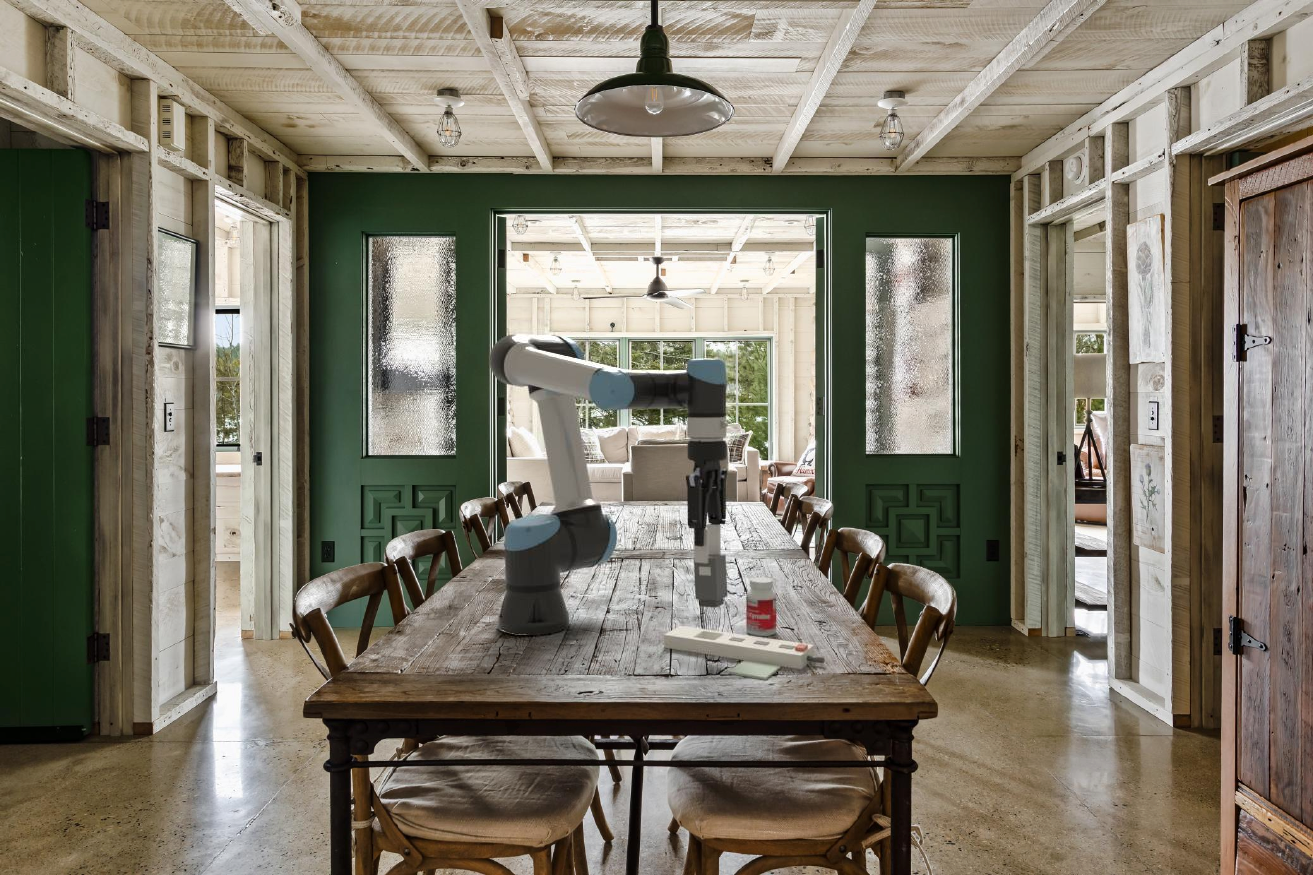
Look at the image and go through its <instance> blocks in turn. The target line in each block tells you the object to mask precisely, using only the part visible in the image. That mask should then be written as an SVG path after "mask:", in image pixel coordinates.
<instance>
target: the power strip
mask: <svg viewBox="0 0 1313 875" xmlns="http://www.w3.org/2000/svg"><path fill="white" fill-rule="evenodd" d="M663 648H667V649H673V650H679V651H683V652H684V651H685V652H693V653H698V654H704V655H709V656H716V657H720V658H721V657H722V658H727V659H728V658H729V659H735V660H741V661H744V660H748V661H754V662H760V663H766V664H773V665H779V666H781V667H783V668H784V667H785V668H791V669H795V670H796V669H797V670H802V669H803V668H804V667H806V666H807V665H809V663H810V662H812V663H818V664H825V658H824V657H819V656H815V644H809V643H803V642H796V641H788V640H781V639H776V638H774V639H773V638H769V637H763V636H755V635H749V634H747V635H746V634H740V633H733V632H726V631H719V630H713V629H707V628H699V627H698V628H697V627H693V626H684V625H679V626H677V627H676V628H674V629H672V630H670V631H668V632H666V633H665V634H663Z"/></svg>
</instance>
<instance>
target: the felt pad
mask: <svg viewBox="0 0 1313 875" xmlns="http://www.w3.org/2000/svg"><path fill="white" fill-rule="evenodd" d="M781 668H782V666H779V665H773V664H766V663H760V662H754V661H748V660H742V661H741V662H740V663H738V664H737V665H736V666H734V667H732V668H731V669H730V670H729V671H728V674H730V675H736V676H742V677H745V678H746V677H747V678H753V679H759V680H764V681H765V680H767V679H769V678H770V677H771V676H772V675H775V673H777V672H778V671H779V670H780V669H781Z"/></svg>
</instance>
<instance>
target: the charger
mask: <svg viewBox="0 0 1313 875" xmlns="http://www.w3.org/2000/svg"><path fill="white" fill-rule="evenodd" d="M726 556H727V555H726V554H721V555H718V554H709V563H707V564H706V563H697V562H694V561H693V571H694V572H693V573H694V587H695V588H694V593H695V596H694V597H695V600H699V607H701V608H702V607H703V608H714V609H715V608H718V607H721V606H722V605H724V601H725V600H724V598H727V597H728V583H727V582H728V580H727V579H728V578H727V577H728V576H727V558H726Z"/></svg>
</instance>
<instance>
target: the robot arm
mask: <svg viewBox="0 0 1313 875" xmlns="http://www.w3.org/2000/svg"><path fill="white" fill-rule="evenodd" d="M488 359H489V360H488V361H489V367H490V369H491V372H492V374H493V376H494V377H495V378H496V379H497V380H498V381H500V382H501V383H503V384H506V385H509V386H515V387H520V388H523V387H527V390H528V396H529V398H530V399H531V400H533V401H534V402H536V404H537V407H538V408H537V409H538V414H539V419H540V420H539V421H540V425H541V430H542V436H543V441H544V448H545V452H546V453H545V454H546V460H547V463H548V469H549V476H550V480H551V481H550V482H551V487H552V491H553V492H552V493H553V497H554V502H555V503H554V504H555V505H554V507H553V509H552V510H551V512H550V514H549V513H548V514H547V513H545V514H544V513H543V514H541V513H540V514H535V515H526V516H522V517H520V518H516V519H514V520H512V521H510V522H509V523H508V524H507V526H506V527H505V530H504V542H503V548H504V572H505V594H504V597H503V601H502V604H501V607H500V612H499V614H498V617H497V627H499V628H500V629H501V630H504V631H506V632H510V633H514V634H527V635H528V634H530V635H536V636H539V635H538V634H545V635H550V634H549V633H551V634H554V633H553V632H555V633H557V632H558V631H559V632H561V631H560V630H562V631H564V630H566V629H567V628H569V627H570V612H569V611H568V609H567V605H566V602H565V599H564V595H563V594H562V588H561V573H566V572H571V571H572V572H573V571H577V570H581V569H588V568H589V569H590V568H593V567H596V566H599V565H602V564H603V563H606V562H607V561H609V559H611V557H612V556H613V553H614V552H615V550H616V547H617V542H618V532H617V531H618V530H617V527H616V524H615V522H614V520H613V519H611V518H612V517H611V516H610V515H608V514H606V513H604V512H603V509H602V505H601V503H600V502H598V501H597V500H596V499H595V498H594V497H593V494H592V493H593V492H592V486H591V480H590V476H589V471H588V465H587V460H586V459H587V458H586V455H585V454H586V453H585V448H584V444H583V438H582V433H581V427H580V426H581V425H580V420H579V416H578V411H577V410H578V409H577V404H576V399H575V398H578V399H580V400H585V401H589V402H592V403H593V404H594V405H595V407H597V408H598V409H601V410H607V411H608V410H609V411H620V410H622V411H623V410H643V409H644V410H649V409H650V410H651V409H652V410H653V409H655V410H658V409H659V410H660V409H661V410H664V409H686V412H687V414H686V415H687V417H686V418H687V421H686V424H687V425H686V426H687V428H686V430H687V434H686V435H687V436H686V437H687V438H689V441H688V442H687V448H686V449H687V460H689V461H693V462H694V463H693V469H692V472H693V473H692V474H686V475H685V481H686V482H685V483H686V488H687V491H686V492H687V493H686V494H687V497H686V498H687V501H686V502H687V503H686V504H687V526H688V529H693V555H694V556H693V563H694V562H697V563H706V564H707V563H709V554H718V555H722V554H721V553H722V552H721V549H722V548H721V545H722V544H721V540H722V539H721V533H722V532H721V525H726V523H727V522H726V521H727V520H726V519H727V477H728V469H721V462H723V461H725V460H726V459H727V458H728V454H727V453H728V451H727V447H728V446H727V444H728V443H727V441H726V440H724V439H725V438H726V437H727V428H728V427H729V424H728V422H727V389H728V380H727V367H726V362H725V361H724V360H723V359H720V358H693V359H692V358H691V359H689V360H688V361H687V363H686V368H685V369H684V370H683V369H682V370H663V369H662V370H655V369H654V370H649V369H647V370H646V369H645V370H643V369H624V368H619V367H615V366H610V365H606V364H601V363H596V362H592V361H588V360H585V359H586V358H585V356H584V353H583V351H582V349H581V347H580V345H579V344H578V343H577V342H576V341H574V340H572V339H571V338H569V337H566V336H565V337H564V336H560V335H555V334H554V335H553V334H552V335H544V334H543V335H542V334H541V335H538V334H524V333H522V334H521V333H514V334H512V333H511V334H509V335H506V336H504V337H502V338H500V339H499V340H498V341H496V342H495V344H494V345H493V347H492V348H491V350H490V354H489V358H488ZM707 522H708V523H707ZM563 629H564V630H563Z"/></svg>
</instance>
